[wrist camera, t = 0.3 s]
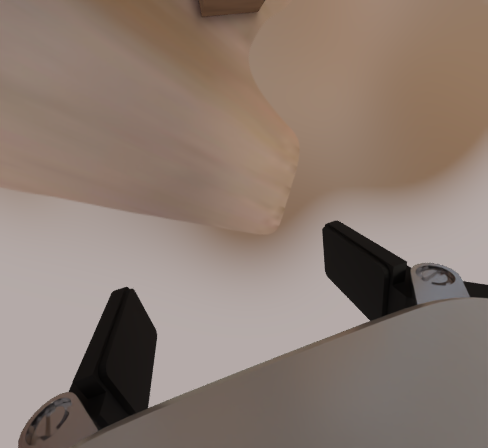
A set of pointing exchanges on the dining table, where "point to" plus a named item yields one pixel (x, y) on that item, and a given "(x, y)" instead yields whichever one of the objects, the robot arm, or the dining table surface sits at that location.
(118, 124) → the dining table surface
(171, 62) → the dining table surface
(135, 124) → the dining table surface
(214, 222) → the dining table surface
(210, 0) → the tan box
